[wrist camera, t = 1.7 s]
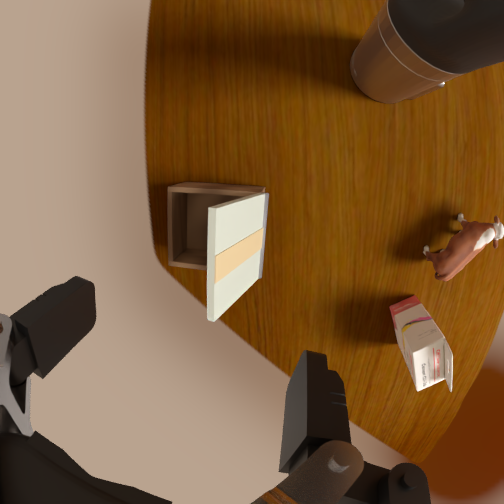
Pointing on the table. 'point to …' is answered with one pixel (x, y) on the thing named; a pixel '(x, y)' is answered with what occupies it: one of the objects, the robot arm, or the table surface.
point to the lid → (234, 250)
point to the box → (196, 218)
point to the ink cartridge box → (421, 344)
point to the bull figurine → (464, 247)
